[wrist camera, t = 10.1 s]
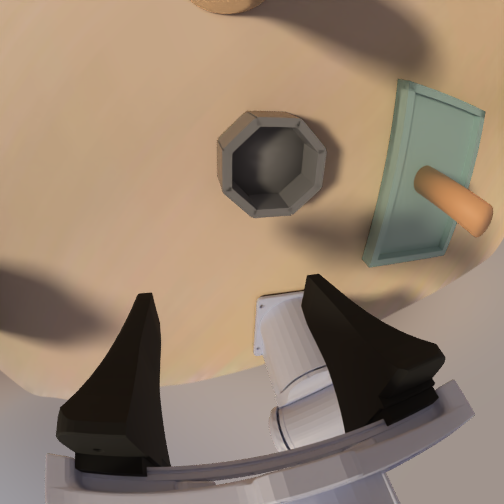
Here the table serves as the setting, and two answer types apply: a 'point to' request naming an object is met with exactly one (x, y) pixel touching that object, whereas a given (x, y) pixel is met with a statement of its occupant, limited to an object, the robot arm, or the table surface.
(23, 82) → the table surface
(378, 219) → the tray
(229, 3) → the beer glass
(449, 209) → the dowel
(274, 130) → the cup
